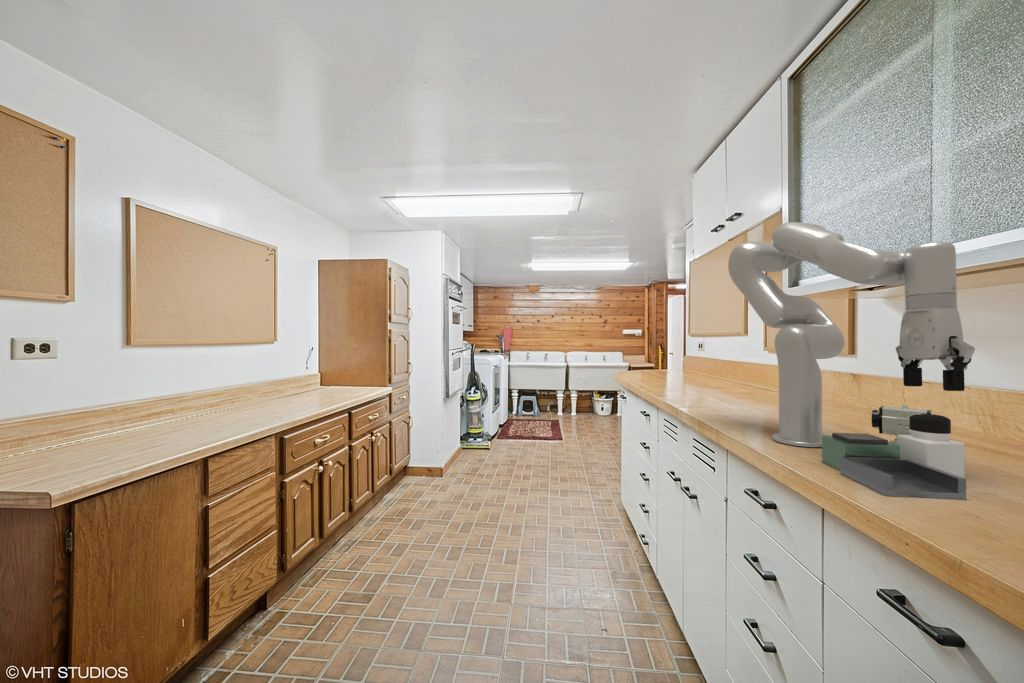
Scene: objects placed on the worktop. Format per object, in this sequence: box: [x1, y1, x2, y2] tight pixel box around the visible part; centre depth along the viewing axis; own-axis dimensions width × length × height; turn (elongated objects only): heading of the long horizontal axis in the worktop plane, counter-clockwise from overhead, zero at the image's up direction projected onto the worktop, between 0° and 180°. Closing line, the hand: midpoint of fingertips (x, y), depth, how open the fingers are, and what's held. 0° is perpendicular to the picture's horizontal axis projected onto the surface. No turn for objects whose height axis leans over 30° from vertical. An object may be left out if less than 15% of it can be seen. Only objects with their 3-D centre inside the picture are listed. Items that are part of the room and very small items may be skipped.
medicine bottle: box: [897, 413, 966, 478], centre depth 86 cm, size 7×7×12 cm
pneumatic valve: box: [871, 403, 932, 444], centre depth 100 cm, size 6×12×12 cm, turn 43°
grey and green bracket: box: [821, 432, 967, 500], centre depth 83 cm, size 21×12×7 cm, turn 172°
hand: (932, 388), depth 85 cm, fingers open, 9 cm apart
